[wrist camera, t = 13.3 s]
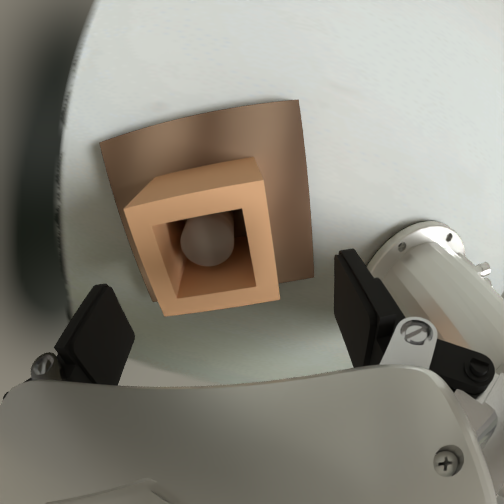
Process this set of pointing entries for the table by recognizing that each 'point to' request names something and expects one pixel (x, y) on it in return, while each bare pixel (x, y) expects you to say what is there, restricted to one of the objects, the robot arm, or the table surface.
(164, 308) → the orange hollow cube
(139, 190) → the post board
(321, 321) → the table surface
